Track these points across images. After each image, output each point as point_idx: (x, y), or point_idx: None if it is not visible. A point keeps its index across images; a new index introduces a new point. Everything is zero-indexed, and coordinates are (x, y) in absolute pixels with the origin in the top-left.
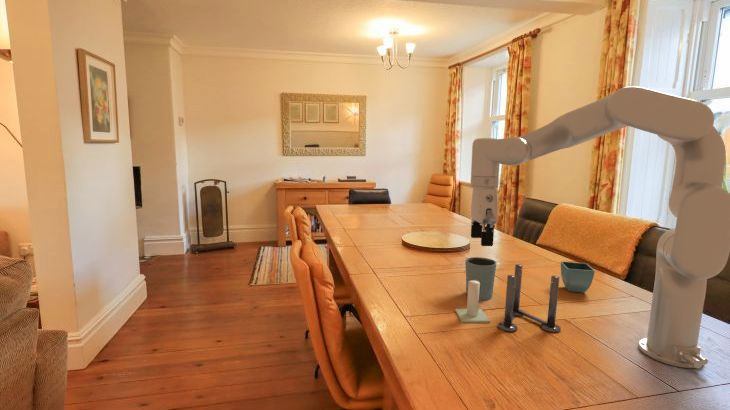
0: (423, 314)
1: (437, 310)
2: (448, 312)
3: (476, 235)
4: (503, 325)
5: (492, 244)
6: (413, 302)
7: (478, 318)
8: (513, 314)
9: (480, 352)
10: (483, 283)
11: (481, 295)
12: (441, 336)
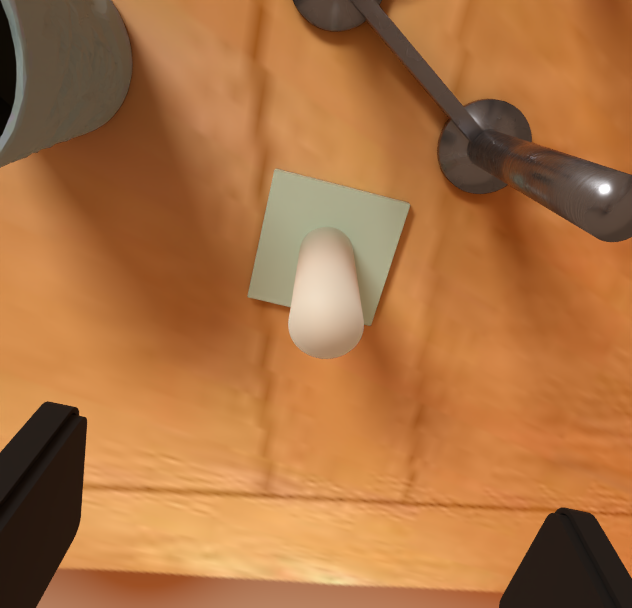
0: (262, 430)
1: (232, 365)
2: (261, 330)
3: (68, 504)
4: (474, 167)
5: (595, 529)
6: (135, 425)
7: (371, 244)
8: (405, 42)
9: (605, 369)
10: (90, 77)
11: (121, 84)
12: (453, 439)
